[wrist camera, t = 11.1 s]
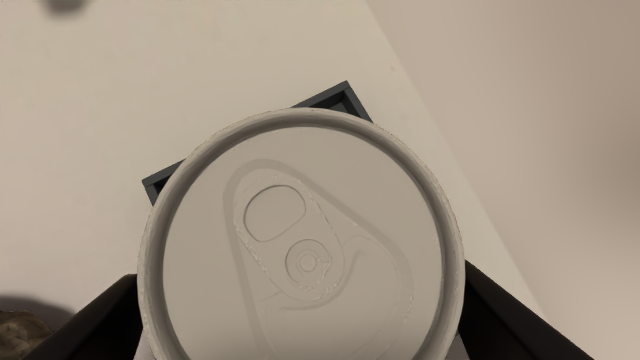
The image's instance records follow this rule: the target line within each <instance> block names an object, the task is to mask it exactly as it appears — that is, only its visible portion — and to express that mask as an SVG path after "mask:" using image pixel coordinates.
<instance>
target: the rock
mask: <svg viewBox="0 0 640 360" xmlns="http://www.w3.org/2000/svg"><path fill="white" fill-rule="evenodd" d="M51 334H52V332H51V330H50V329H49V327H47V326H46V325H45V324H44V323H43V322H42V321H41V320H40V319H39V318H38V317H37V316H35V315H34V314H32V313H30V312H29V311H26V310H20V311H13V312H3V311H0V360H19V359H20V358H22V357H23V356H24V355H25V354H27V353H28V352H29V351H30V350H32V349H33V348H34V347H36V346H37V345H38V344H39V343H41V342H42V341H43V340H44V339H46V338H47V337H48V336H49V335H51Z"/></svg>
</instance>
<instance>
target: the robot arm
mask: <svg viewBox="0 0 640 360" xmlns="http://www.w3.org/2000/svg"><path fill="white" fill-rule="evenodd" d="M457 328H458V331H459V334H460V337H461V340H462V342H463V345H464V347H465V349H466V352H467V354H468V357H469V359H470V360H594V359H593V358H592V357H590V356H589V355H587V354H586V353H585V352H584V351H583V350H581V349H580V348H579V347H577V346H576V345H575V344H574V343H572V342H571V341H570V340H568V339H567V338H566V337H565V336H563V335H562V334H561V333H559V332H558V331H557V330H556V329H554V328H553V327H552V326H551V325H549V324H548V323H547V322H545V321H544V320H543V319H542V318H540V317H539V316H538V315H536V314H535V313H534V312H533V311H531V310H530V309H529V308H527V307H526V306H525V305H524V304H522V303H521V302H520V301H518V300H517V299H516V298H515V297H513V296H512V295H511V294H509V293H508V292H507V291H506V290H504V289H503V288H502V287H500V286H499V285H498V284H497V283H495V282H494V281H493V280H492V279H490V278H489V277H488V276H486V275H485V274H484V273H483V272H481V271H480V270H479V269H477V268H476V267H475V266H474V265H472V264H471V263H470V262H468V261H467V260H465V287H464V299H463V306H462V312H461V316H460V320H459V323H458V327H457ZM142 330H143V323H142V318H141V313H140V308H139V302H138V286H137V274H128V275H125V276H123V277H122V278H121V279H119V280H118V281H117V282H116V283H114V284H113V285H112V286H111V287H109V288H108V289H107V290H106V291H104V292H103V293H102V294H101V295H99V296H98V297H97V298H96V299H94V300H93V301H92V302H91V303H89V304H88V305H87V306H86V307H84V308H83V309H82V310H81V311H79V312H78V313H77V314H76V315H74V316H73V317H72V318H71V319H69V320H68V321H67V322H66V323H64V324H63V325H62V326H61V327H59V328H58V329H57V330H56V331H54V332H53V333H52V334H51V335H49V336H48V337H47V338H46V339H44V340H43V341H42V342H41V343H39V344H38V345H37V346H36V347H34V348H33V349H32V350H30V351H29V352H28V353H27V354H25V355H24V356H23V357H22V358H20V359H19V360H133V359H134V356H135V354H136V351H137V348H138V344H139V341H140V337H141V334H142Z"/></svg>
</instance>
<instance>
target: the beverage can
mask: <svg viewBox="0 0 640 360" xmlns="http://www.w3.org/2000/svg"><path fill="white" fill-rule="evenodd" d="M137 286H138V302H139V308H140V313H141V318H142V323H143V327H144V330H145V333H146V336H147V339H148V342H149V345H150V348H151V350H152V352H153V354H154V356H155V358H156V360H444V359H445V357H446V355H447V352H448V350H449V348H450V346H451V343H452V341H453V339H454V336H455V334H456V331H457V327H458V323H459V320H460V316H461V312H462V306H463V299H464V287H465V259H464V252H463V245H462V239H461V235H460V232H459V228H458V225H457V221H456V218H455V215H454V213H453V210H452V208H451V206H450V204H449V201H448V199H447V197H446V195H445V193H444V191H443V190H442V188H441V186H440V184H439V183H438V181H437V179H436V178H435V177H434V176H433V174H432V173H431V172H430V170H429V169H428V168H427V166H426V165H425V164H424V163H423V162H422V161H421V159H420V158H419V157H418V156H417V155H416V154H415V153H414V152H413V151H412V150H411V149H410V148H408V147H407V146H406V145H405V144H404V143H402V142H401V141H400V140H398V139H397V138H396V137H394V136H393V135H392V134H390V133H389V132H387V131H385V130H384V129H382V128H380V127H378V126H376V125H375V124H373V123H371V122H369V121H366V120H364V119H361V118H359V117H356V116H353V115H350V114H347V113H343V112H338V111H333V110H328V109H320V108H308V107H304V108H286V109H280V110H274V111H268V112H265V113H261V114H258V115H255V116H251V117H248V118H246V119H243V120H241V121H239V122H236V123H234V124H232V125H230V126H228V127H227V128H225V129H223V130H221V131H219V132H218V133H216V134H215V135H213V136H212V137H211V138H209V139H208V140H207V141H205V142H204V143H203V144H201V145H200V146H199V147H198V148H197V149H195V150H194V151H193V152H192V153H191V154H190V155H189V156H188V157H187V158H186V159H185V160H184V161H183V162H182V163H181V165H180V166H179V167H178V168H177V170H176V171H175V172H174V173H173V174H172V176H171V177H170V178H169V180H168V182H167V183H166V185H165V186H164V188H163V189H162V191H161V192H160V194H159V196H158V198H157V201H156V203H155V205H154V207H153V209H152V211H151V213H150V216H149V219H148V222H147V225H146V228H145V231H144V235H143V238H142V242H141V247H140V253H139V259H138V272H137Z"/></svg>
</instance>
